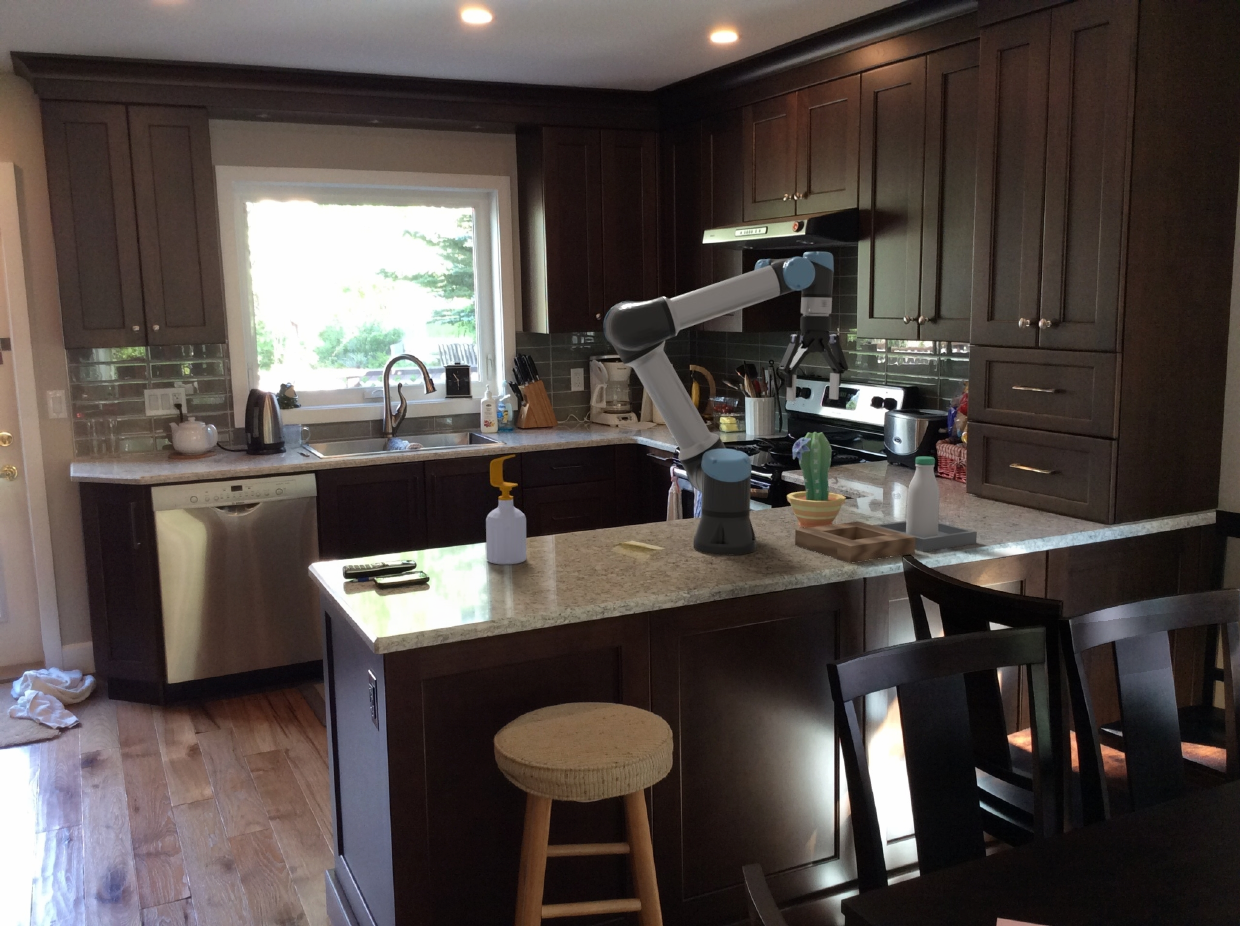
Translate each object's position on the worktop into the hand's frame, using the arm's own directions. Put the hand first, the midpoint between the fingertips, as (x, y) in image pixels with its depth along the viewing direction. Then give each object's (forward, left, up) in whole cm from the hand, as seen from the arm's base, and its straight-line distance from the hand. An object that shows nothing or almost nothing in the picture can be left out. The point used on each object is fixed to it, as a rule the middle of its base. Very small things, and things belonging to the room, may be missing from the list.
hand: (812, 400), depth 266 cm
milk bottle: (+20, -20, -34) cm, 44 cm away
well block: (-1, -19, -34) cm, 39 cm away
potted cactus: (+8, +6, -35) cm, 36 cm away
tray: (+21, -20, -34) cm, 45 cm away
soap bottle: (-79, +10, -35) cm, 87 cm away
